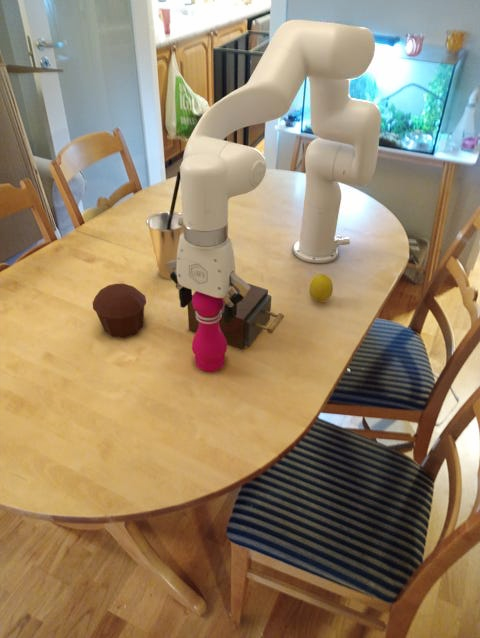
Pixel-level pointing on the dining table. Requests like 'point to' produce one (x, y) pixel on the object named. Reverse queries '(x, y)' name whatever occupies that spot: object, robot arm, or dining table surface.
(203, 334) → the pepper mill
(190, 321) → the cabinet
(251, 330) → the drawer
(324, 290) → the lemon
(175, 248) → the metal cup with straw
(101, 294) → the muffin
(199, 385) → the dining table surface
